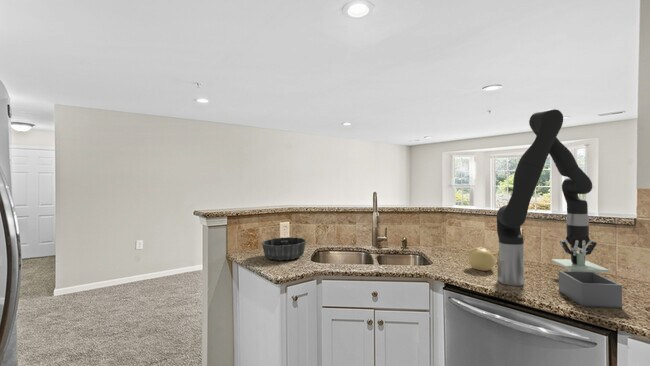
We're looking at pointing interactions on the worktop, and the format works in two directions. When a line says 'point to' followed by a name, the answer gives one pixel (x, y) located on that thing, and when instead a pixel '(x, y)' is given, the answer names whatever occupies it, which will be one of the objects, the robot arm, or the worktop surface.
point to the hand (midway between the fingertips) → (578, 263)
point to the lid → (580, 264)
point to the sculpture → (481, 259)
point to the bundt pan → (284, 248)
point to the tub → (590, 289)
